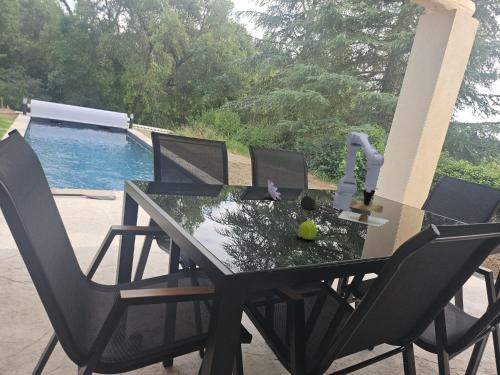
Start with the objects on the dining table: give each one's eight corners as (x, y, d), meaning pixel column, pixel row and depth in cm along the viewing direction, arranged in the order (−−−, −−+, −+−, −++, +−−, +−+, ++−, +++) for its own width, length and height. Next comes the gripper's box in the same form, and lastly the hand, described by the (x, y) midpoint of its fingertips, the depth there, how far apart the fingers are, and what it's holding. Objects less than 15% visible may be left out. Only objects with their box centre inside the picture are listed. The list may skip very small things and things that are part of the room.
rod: (349, 206, 195) (350, 200, 194) (350, 205, 198) (351, 199, 197) (382, 213, 189) (383, 206, 189) (382, 212, 192) (383, 205, 192)
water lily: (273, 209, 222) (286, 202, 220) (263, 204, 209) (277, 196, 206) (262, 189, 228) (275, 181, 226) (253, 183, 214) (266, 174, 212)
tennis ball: (303, 235, 153) (306, 218, 152) (318, 240, 149) (321, 223, 148) (294, 237, 148) (297, 220, 146) (309, 243, 143) (312, 225, 142)
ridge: (358, 220, 191) (359, 215, 191) (359, 217, 199) (361, 212, 198) (366, 222, 190) (367, 216, 189) (367, 219, 197) (368, 214, 197)
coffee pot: (298, 207, 205) (303, 207, 212) (329, 219, 197) (333, 219, 204) (303, 193, 204) (307, 194, 212) (334, 205, 196) (338, 206, 204)
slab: (337, 218, 192) (337, 217, 192) (343, 211, 212) (343, 210, 212) (387, 229, 184) (387, 228, 184) (388, 221, 204) (388, 220, 204)
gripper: (379, 181, 183) (373, 208, 185) (380, 178, 196) (375, 204, 198) (364, 178, 185) (359, 205, 187) (366, 175, 198) (361, 201, 201)
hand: (366, 204), depth 193 cm, fingers closed on rod, 3 cm apart
